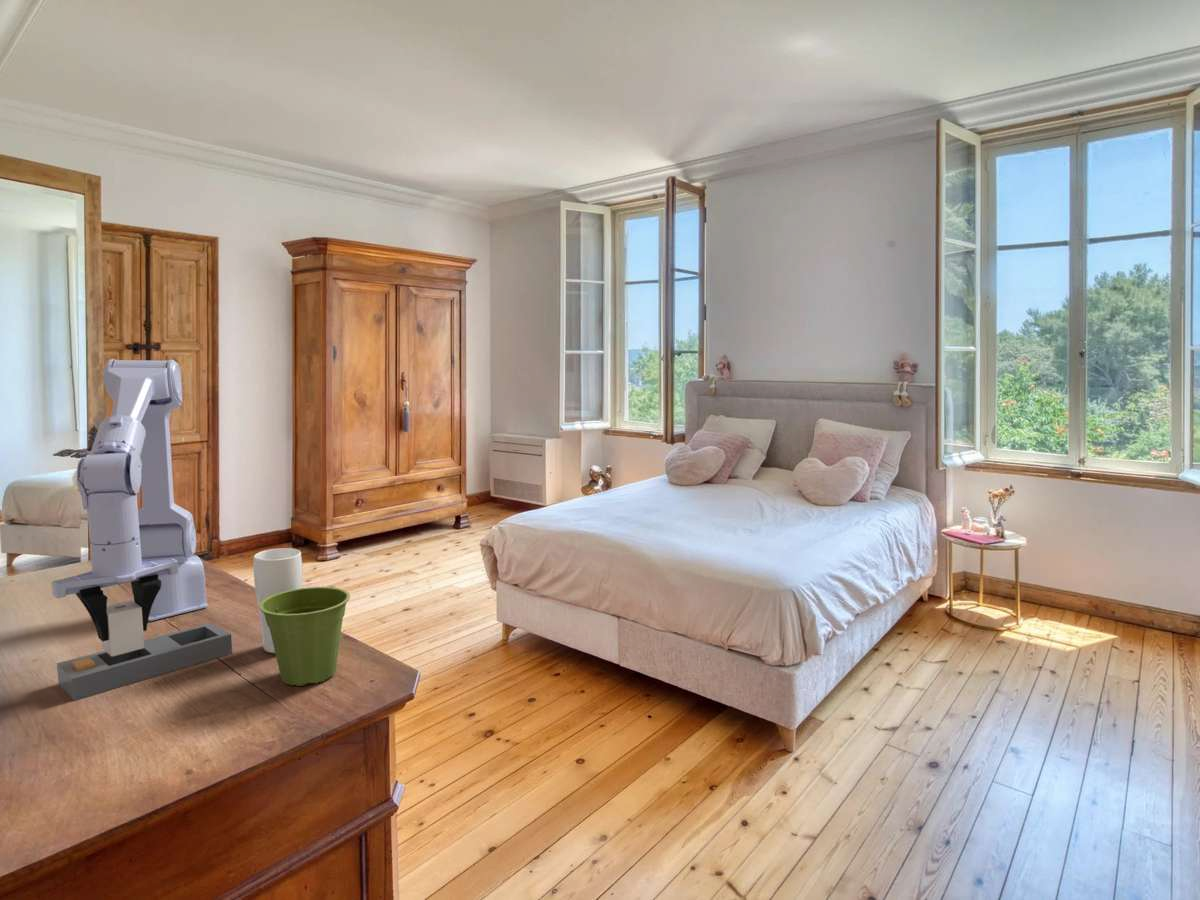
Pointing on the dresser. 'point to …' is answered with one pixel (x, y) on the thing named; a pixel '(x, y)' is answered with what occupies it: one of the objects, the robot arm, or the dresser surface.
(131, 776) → the dresser surface
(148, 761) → the dresser surface
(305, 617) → the plant pot
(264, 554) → the white tall hollow cylinder
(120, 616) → the block
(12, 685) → the dresser surface
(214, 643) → the power strip
